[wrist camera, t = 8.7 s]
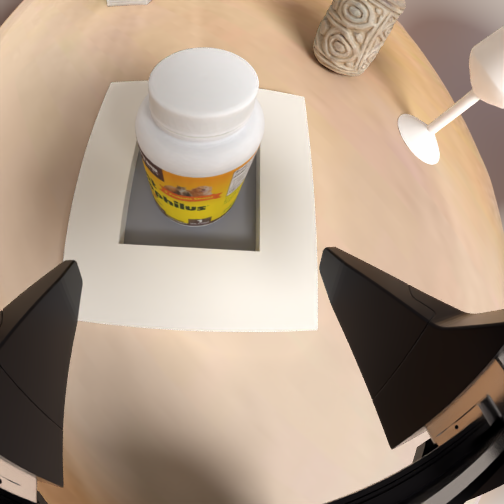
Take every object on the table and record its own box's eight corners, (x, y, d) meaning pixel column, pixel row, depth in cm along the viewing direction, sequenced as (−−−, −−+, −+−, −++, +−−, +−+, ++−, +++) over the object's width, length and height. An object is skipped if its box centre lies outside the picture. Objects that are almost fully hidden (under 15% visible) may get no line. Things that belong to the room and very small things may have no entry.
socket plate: (308, 328, 18) (317, 329, 16) (69, 317, 15) (59, 317, 13) (298, 107, 22) (304, 97, 20) (114, 93, 18) (111, 82, 17)
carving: (344, 48, 26) (388, -18, 14) (368, 89, 24) (427, 18, 13) (298, 39, 24) (336, -39, 13) (318, 80, 23) (374, -9, 11)
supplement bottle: (137, 199, 17) (93, 93, 7) (188, 141, 18) (194, 23, 9) (205, 247, 17) (221, 168, 7) (252, 182, 19) (306, 76, 9)
